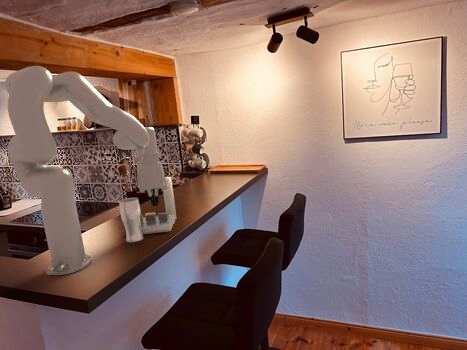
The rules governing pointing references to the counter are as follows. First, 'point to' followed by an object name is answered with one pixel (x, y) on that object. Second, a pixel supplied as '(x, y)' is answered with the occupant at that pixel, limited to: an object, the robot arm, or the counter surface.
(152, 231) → the breaker panel
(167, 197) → the post
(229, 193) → the counter surface
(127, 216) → the beer glass
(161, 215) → the grey rectangular box
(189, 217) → the counter surface
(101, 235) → the counter surface
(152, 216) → the paddle mid
